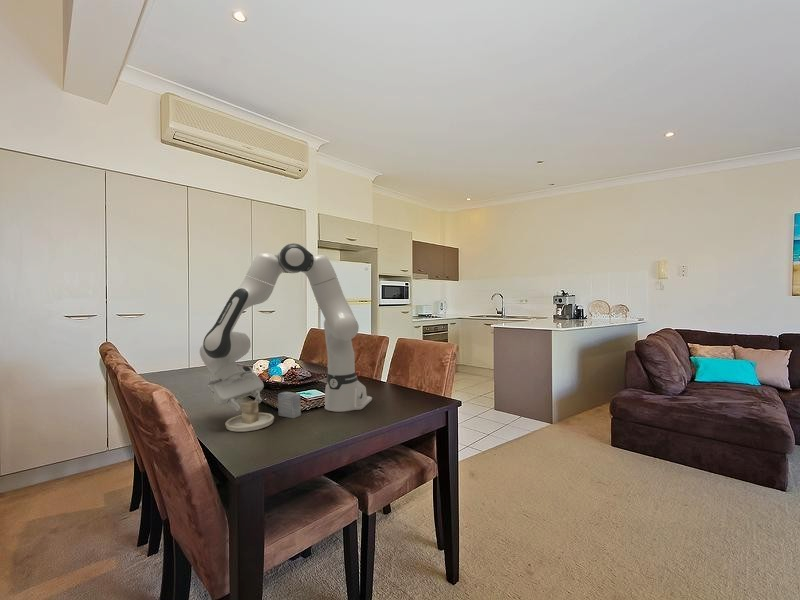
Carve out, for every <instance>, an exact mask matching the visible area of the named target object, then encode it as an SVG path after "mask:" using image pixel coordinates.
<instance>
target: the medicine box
mask: <svg viewBox="0 0 800 600" xmlns="http://www.w3.org/2000/svg"><path fill="white" fill-rule="evenodd" d="M301 408H302V407H301V393H300V392H299V393H297V392H290V391H282V392H280V393H278V394H277V409H278V411H277V413H278V416H280V417H285V418H289V419H296V418H298V417H300V416H301V415H302V410H301Z"/></svg>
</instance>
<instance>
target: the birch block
mask: <svg viewBox="0 0 800 600" xmlns="http://www.w3.org/2000/svg"><path fill="white" fill-rule="evenodd" d="M240 404H241V406H242V409H241V410H240V411H241V415H242V423H247V424H252V423H254V422H256V421H259V418H258V413H259V403H258V401H255V400H247V401H245V402H242V403H240Z"/></svg>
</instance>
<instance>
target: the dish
mask: <svg viewBox="0 0 800 600" xmlns="http://www.w3.org/2000/svg"><path fill="white" fill-rule="evenodd" d="M258 418H259V421H256V422H254V423H252V424H247V423H242V414H239V415H235V416H234V417H231V418H228V419H227V420H226V421H225V422H224V424H225V428H226V430H228V431H230V432H236V433H237V432H239V433H241V432H242V433H243V432H252V431H256V430H257V431H258V430H261V429H264V428H266V427H267V428H268V426H270V425H272V424H273V423H274V420H275V415H273V414H272V413H268V412H258Z"/></svg>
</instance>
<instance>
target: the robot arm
mask: <svg viewBox="0 0 800 600" xmlns="http://www.w3.org/2000/svg"><path fill="white" fill-rule="evenodd" d="M300 272H301V273H303V274H304V275H305V276H306V277H307V279H308V282H309V285H310V288H311V291H312V292H313V295H314V298H315V301H316V303H317V305H318V308H319V309H320V312H321V313H322V315H323V317H324V321H323V329H324V337H325V346H326V354H327V356H326V357H327V373H326V382H327V384H326V385H325V390H324V401H325V403H324V404H325V406H324V409H325V410H327V411H331V412H339V413H340V412H350V411H356V410H357V411H359V410H362V409H364V408H365V407H366V406H367V405H368V404H369V403H370V402H371V401H372V400H373V397H372V396H370V395H367V388H366V385H364V384H363V383H361V382H360V380H358V377H360V376H361V371H359V370H356V368H355V364H356V361H355V359H356V358H355V350H354V347H353V340H352V339H354V338H355V337H356V336H357V335H358V333H359V329H360V328H359V323H358V321H357V319H356V317H355V315H354V313H353V310H352V309H351V306H350V305H349V303H348V300H347V299H346V297H345V294H344V292H343V290H342V286H341V284H340V281H339V279H338V277H337V273H336V271H335V268H334V267H333V265H332V263H331V262H330V260H329V258H328V257H327V256H326V255H324V254H320V253H319V254H313V253H311V252H310V251H309V250H308V249H307V248H306V247H305V246H303V245H302V244H298V243H288V244H286V245H285V246H284V247H282V248H281V250H280V252H278V253H277V254H273V253H270V252H260V253H258V254H257V255H256V257H254V259H253V261H252V263H251V264H250V266H249V268H248V271H247V272H246V274H245V277H244V279H243V281H242V283H241V284H240V286H239V287H238V288H237V289H236V290H235V291H234V292H233V293H232V294H231V295H230V297H229V298H228V300H227V302H226V304H225V306H223V309H222V311H221V313H220V315H219V316H218V318H217V320H216V322H215V323H214V325H213V326H212V327H211V329H210V330H209V331H208V332H207V333H206V335H205V337H203V343H202V345H201V346H200V349H199V355H200V359H201V360H202V362H203V364H204V365H205V367H206V368H207V370H208V371H210V372H211V374H212V376H213V378H214V379H215V380H212V381H210V382H209V383H207V389H208V390H209V391H210V395H211V397H212V400H214V403H215V404H216V405H218V406H222V405H225V404H228V406H230V407H232V408H233V409H235V411H236V412H238V411H242V410H241V409H242V406H241V403H237V402H236V401H237V400H239V399H243V398H246V397H249V396H252V395H253V397H255V399H254V401H258V404H260V403H261V402H262V401H263V400H262V397H261V394H260V393H261V392H262V390H263V389H264V387H265V385H264V382H263V381H262V379H261V378H260V377H259V376H258V374H257V373H255V372H253V371H254V369H253V367H251V366H243V365H237V363H236V362H237V361H239V360H240V359H242V358H243V357H245V356H246V355H247V353H249V351H250V348H251V340H250V337H249V336H248V335H247V334H246V333H243V332H239V331H233V330H234V329H235V327H236V324H238V323H237V322H238V321H239V319H240V317H241V315H242V314H243V312H244V311H245V310H247V309H248V308H250V307H252V306H256V305H260V304H262V303H263V304H264V303H265V302H266V301H268V300H269V298H270V297H271V295H272V294H273V291H274V288H275V286H276V284H277V281H278V279H279V277H280V275H281V274H282V273H286V274H298V273H300Z"/></svg>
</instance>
